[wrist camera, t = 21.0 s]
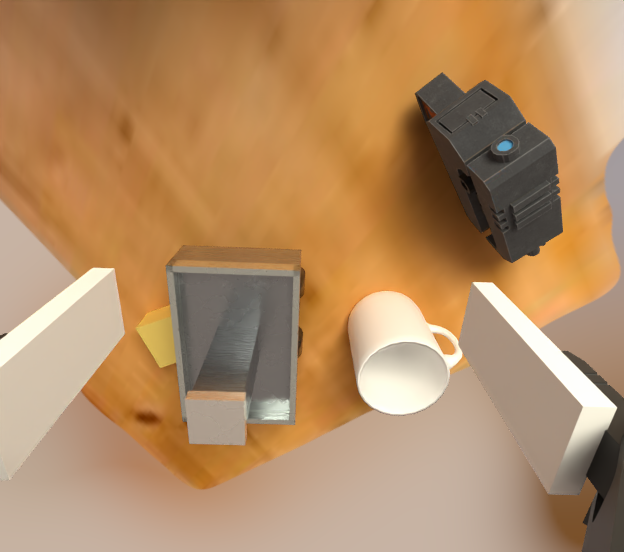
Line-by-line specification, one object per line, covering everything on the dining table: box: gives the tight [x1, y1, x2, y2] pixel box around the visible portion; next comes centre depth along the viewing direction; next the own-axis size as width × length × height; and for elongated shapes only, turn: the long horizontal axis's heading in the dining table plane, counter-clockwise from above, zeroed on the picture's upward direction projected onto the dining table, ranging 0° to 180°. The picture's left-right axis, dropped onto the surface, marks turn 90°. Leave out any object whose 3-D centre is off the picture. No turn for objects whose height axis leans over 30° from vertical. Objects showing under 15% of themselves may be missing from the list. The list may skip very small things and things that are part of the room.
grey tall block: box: [185, 326, 259, 445], centre depth 36 cm, size 4×4×11 cm
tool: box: [415, 73, 563, 263], centre depth 40 cm, size 6×19×15 cm
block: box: [136, 305, 176, 368], centre depth 50 cm, size 6×5×4 cm
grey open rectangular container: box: [166, 245, 305, 425], centre depth 45 cm, size 18×13×12 cm
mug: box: [348, 291, 462, 416], centre depth 46 cm, size 10×12×12 cm
